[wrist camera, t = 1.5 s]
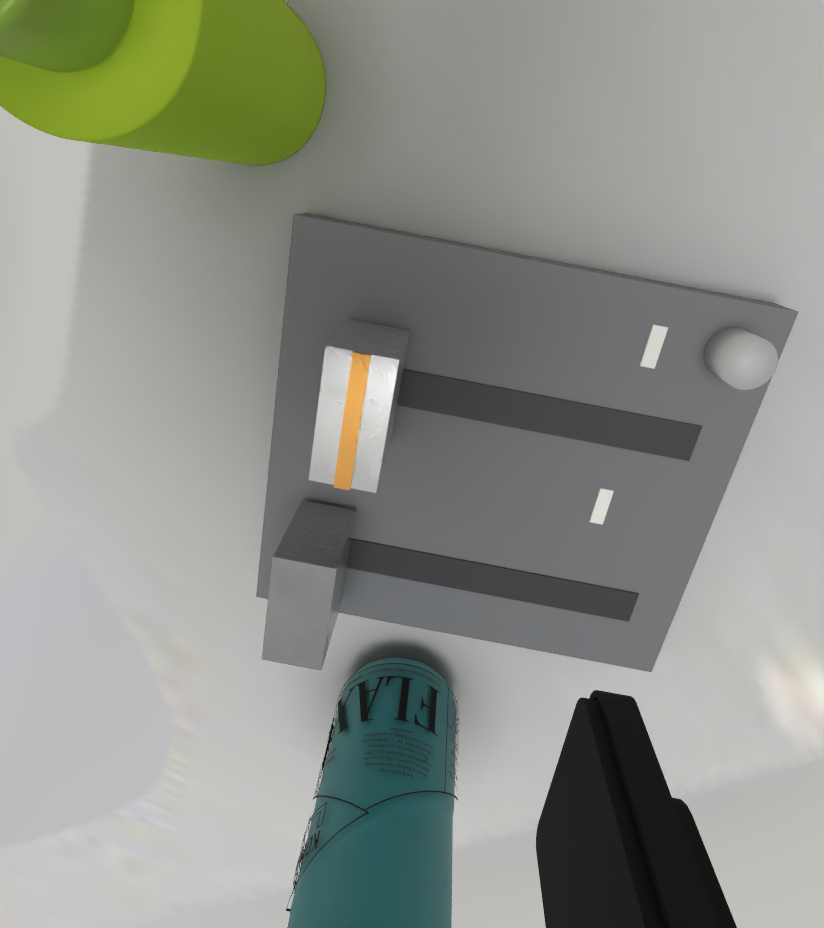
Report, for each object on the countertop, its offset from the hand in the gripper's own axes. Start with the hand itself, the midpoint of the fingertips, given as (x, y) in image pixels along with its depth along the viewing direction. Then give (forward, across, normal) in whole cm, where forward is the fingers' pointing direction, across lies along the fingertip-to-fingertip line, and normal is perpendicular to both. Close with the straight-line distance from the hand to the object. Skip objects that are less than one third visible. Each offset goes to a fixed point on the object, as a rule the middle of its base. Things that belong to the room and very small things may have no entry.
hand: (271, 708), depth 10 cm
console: (+21, -5, +2) cm, 22 cm away
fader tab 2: (+19, +1, -1) cm, 19 cm away
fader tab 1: (+19, +2, +8) cm, 21 cm away
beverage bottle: (+22, -3, +17) cm, 28 cm away
